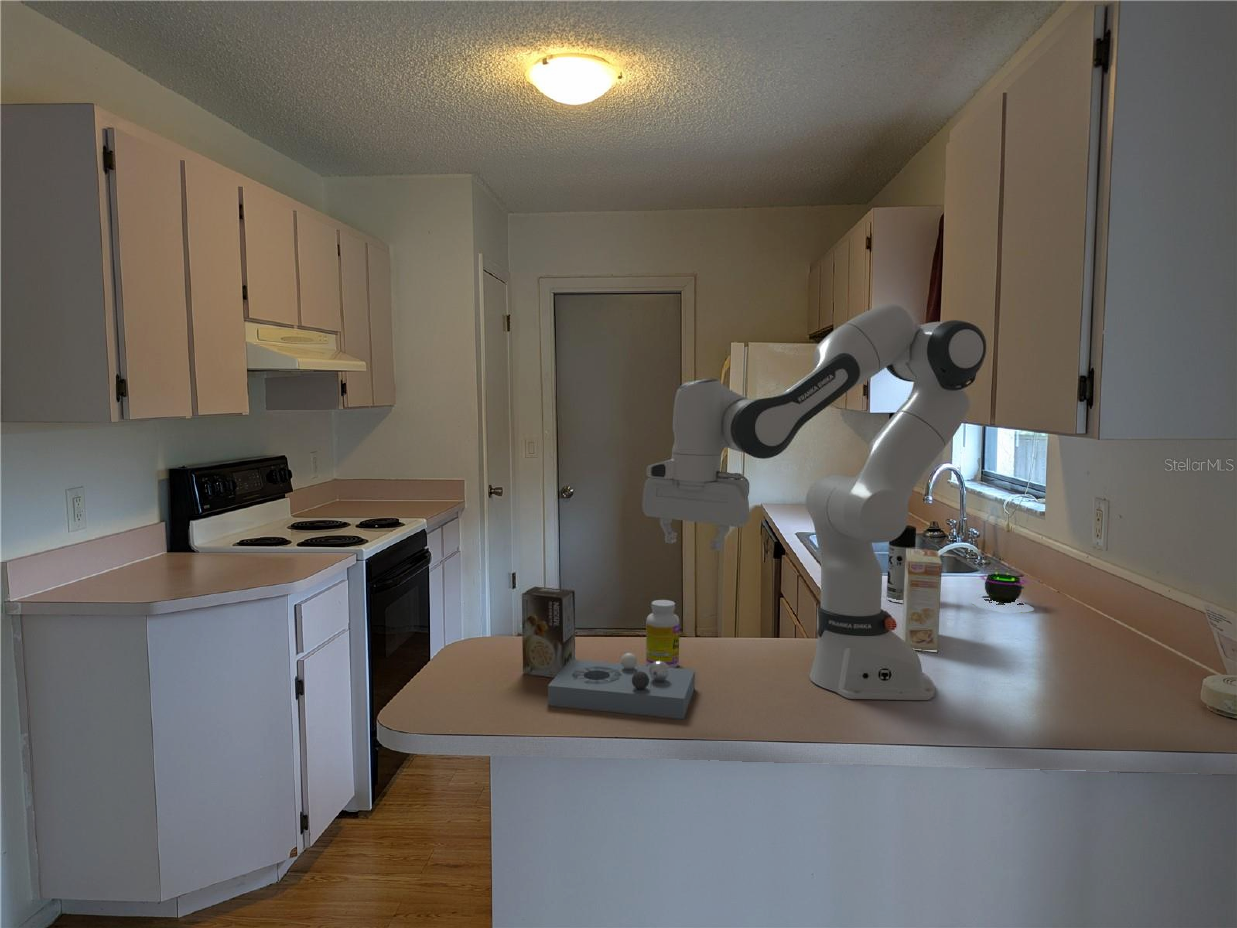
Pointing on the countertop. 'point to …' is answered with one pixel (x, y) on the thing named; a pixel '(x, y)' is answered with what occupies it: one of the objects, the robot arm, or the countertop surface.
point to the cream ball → (628, 661)
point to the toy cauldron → (1003, 587)
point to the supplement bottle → (662, 634)
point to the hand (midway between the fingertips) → (693, 545)
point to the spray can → (899, 562)
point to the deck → (621, 689)
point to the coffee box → (547, 630)
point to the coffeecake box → (922, 599)
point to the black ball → (640, 680)
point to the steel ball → (659, 671)
